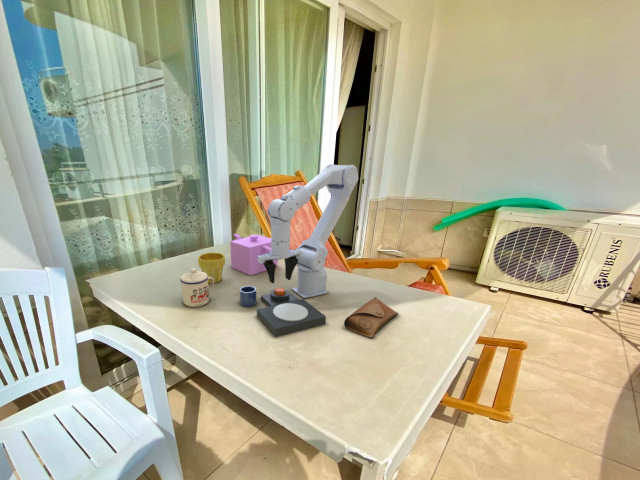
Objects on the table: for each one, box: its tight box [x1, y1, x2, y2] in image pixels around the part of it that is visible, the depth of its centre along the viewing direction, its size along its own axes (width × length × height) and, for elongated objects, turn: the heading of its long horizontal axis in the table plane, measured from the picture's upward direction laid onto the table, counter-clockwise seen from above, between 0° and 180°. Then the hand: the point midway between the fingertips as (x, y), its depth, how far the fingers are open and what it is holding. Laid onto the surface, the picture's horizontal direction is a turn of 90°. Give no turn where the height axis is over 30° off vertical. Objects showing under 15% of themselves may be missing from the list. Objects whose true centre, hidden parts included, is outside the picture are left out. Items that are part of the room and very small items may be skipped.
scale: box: [256, 298, 327, 338], centre depth 88 cm, size 16×12×3 cm
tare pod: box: [260, 289, 300, 307], centre depth 100 cm, size 10×8×3 cm
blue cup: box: [239, 285, 257, 308], centre depth 99 cm, size 5×5×5 cm
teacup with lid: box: [179, 267, 215, 308], centre depth 101 cm, size 12×9×12 cm
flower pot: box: [197, 251, 226, 284], centre depth 117 cm, size 10×10×10 cm
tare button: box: [274, 287, 286, 295], centre depth 99 cm, size 3×3×2 cm
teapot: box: [229, 233, 279, 276], centre depth 129 cm, size 15×25×14 cm, turn 38°
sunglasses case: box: [343, 296, 400, 338], centre depth 86 cm, size 18×7×7 cm
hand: (280, 280), depth 97 cm, fingers open, 5 cm apart
